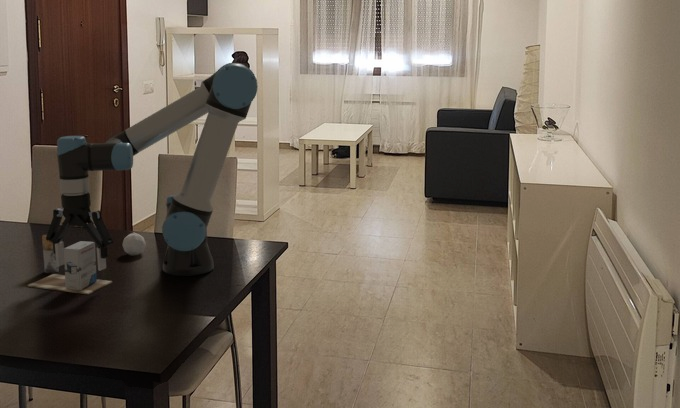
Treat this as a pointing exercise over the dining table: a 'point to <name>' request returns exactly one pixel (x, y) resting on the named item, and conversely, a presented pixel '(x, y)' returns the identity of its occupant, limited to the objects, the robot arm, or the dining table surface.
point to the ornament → (134, 244)
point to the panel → (59, 284)
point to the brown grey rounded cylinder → (49, 256)
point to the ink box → (80, 265)
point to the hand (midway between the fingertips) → (81, 267)
